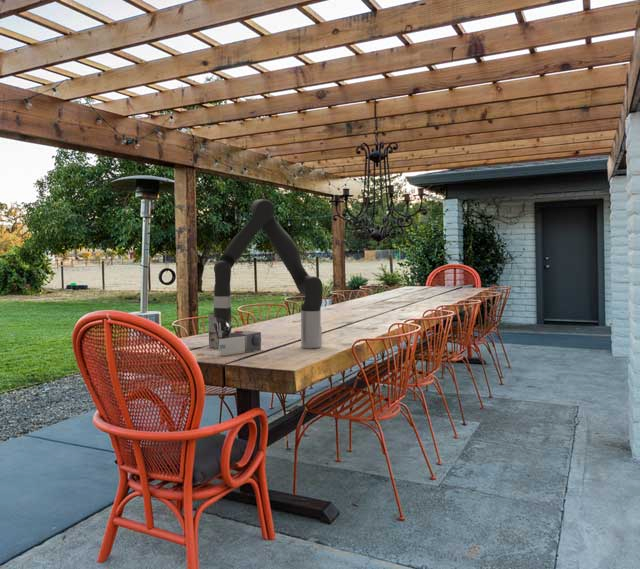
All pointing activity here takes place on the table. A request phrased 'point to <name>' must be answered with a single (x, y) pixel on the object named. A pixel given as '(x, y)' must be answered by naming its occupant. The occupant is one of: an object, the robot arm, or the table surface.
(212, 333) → the coffee box
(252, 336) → the block
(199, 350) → the table surface
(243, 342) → the side door
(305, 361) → the table surface
